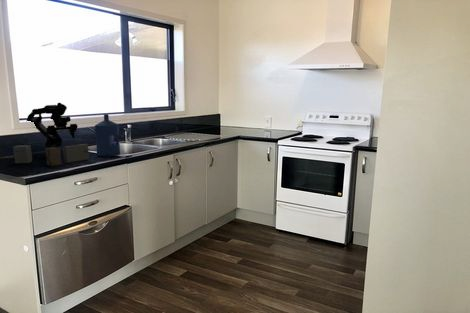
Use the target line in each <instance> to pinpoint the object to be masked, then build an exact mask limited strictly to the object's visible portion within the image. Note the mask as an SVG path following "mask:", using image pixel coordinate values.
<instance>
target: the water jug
mask: <svg viewBox="0 0 470 313" xmlns="http://www.w3.org/2000/svg"><path fill="white" fill-rule="evenodd" d="M109 118H110V117H109V114H108V113H104V114H103V121H100V122H98V123H96V124H95V125H94V131H95V144H96V145H95V146H96V155H97V156H98V157H114V155H115V156H119V155H120V154H121V145H120V138H119V134H120V128H119V126H120V124H119V123H116V122H114V121H112V120H110V119H109ZM114 136H115V141H114Z"/></svg>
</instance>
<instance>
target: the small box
mask: <svg viewBox="0 0 470 313" xmlns="http://www.w3.org/2000/svg"><path fill="white" fill-rule="evenodd" d="M12 150H13V157H14V163H15V164H29V163H32V162H33V155H32V148H31V144H24V145H22V144H21V145H15V146H12Z"/></svg>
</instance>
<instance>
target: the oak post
mask: <svg viewBox="0 0 470 313" xmlns="http://www.w3.org/2000/svg"><path fill="white" fill-rule="evenodd" d="M61 155H62V153H61V148H60V147H58V148H57V147H51V148H48V147H46V148H45V156H46V157H45V158H46V164H47V165H48V166H52V167H54V166H61V165H62V156H61Z"/></svg>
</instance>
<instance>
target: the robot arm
mask: <svg viewBox="0 0 470 313" xmlns="http://www.w3.org/2000/svg"><path fill="white" fill-rule="evenodd" d="M67 109H68V107H67V105H65V104H63V103H62V102H57V104H47V105H44V107H41V108H33V109H32V111H31V112H30V113H29V114H28V115H27V118H26V122H27V121H31V122H34V124H35V126H36V128H35V129H36V130H38V131H39V133H41V135H43V136H44V137H45V138H46V142H45V143H44V144H45V147H46V148H51V147H57V148H59V147H62V143H63V138H62V137H61V135H60V134H59V133H58V131H68V132H69V134H70V135H71V136H70V137H72V139H75V132H77V130H78V127H79V126H78V124H77V123H70V122H71V120H72V119H71V117H70V116H68V115H67V116H64V115H65V113H66V111H67ZM43 114H49V115H50V120H52V121H53V123H54V124H53V125H47V126H45V125H44V124H43V123H42V122H43V121H42V120H43V116H42V115H43ZM35 115H37V116H35ZM68 123H70V125H69V126H68Z"/></svg>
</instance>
